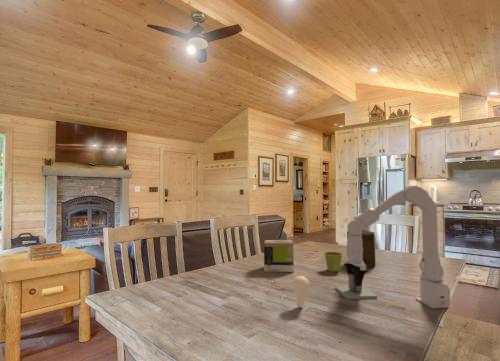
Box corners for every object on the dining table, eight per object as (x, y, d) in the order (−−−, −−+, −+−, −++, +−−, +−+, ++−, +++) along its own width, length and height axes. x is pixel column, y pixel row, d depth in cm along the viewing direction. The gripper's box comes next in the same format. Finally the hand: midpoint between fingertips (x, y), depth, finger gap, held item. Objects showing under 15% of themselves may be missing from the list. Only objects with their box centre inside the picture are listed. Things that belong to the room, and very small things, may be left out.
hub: (364, 290, 117) (364, 275, 117) (352, 291, 117) (352, 275, 117) (358, 286, 122) (358, 272, 122) (346, 286, 122) (346, 272, 122)
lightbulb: (297, 302, 109) (297, 272, 109) (312, 307, 105) (312, 276, 105) (288, 307, 104) (288, 276, 105) (304, 312, 100) (304, 280, 101)
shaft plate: (377, 298, 114) (377, 287, 114) (347, 299, 113) (347, 288, 113) (362, 287, 126) (362, 278, 126) (335, 288, 125) (335, 279, 125)
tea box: (292, 267, 158) (292, 239, 158) (293, 272, 148) (293, 243, 148) (264, 266, 159) (264, 239, 160) (263, 271, 149) (263, 242, 150)
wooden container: (341, 262, 169) (341, 224, 170) (363, 260, 174) (363, 223, 174) (358, 269, 155) (358, 227, 156) (381, 267, 160) (381, 226, 160)
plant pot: (339, 274, 146) (338, 256, 146) (321, 270, 152) (321, 253, 152) (345, 270, 153) (345, 253, 154) (328, 267, 159) (328, 250, 159)
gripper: (338, 246, 127) (338, 278, 126) (353, 253, 112) (353, 289, 112) (354, 246, 127) (354, 277, 127) (371, 253, 113) (371, 289, 112)
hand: (355, 283), depth 119 cm, fingers closed on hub, 5 cm apart
